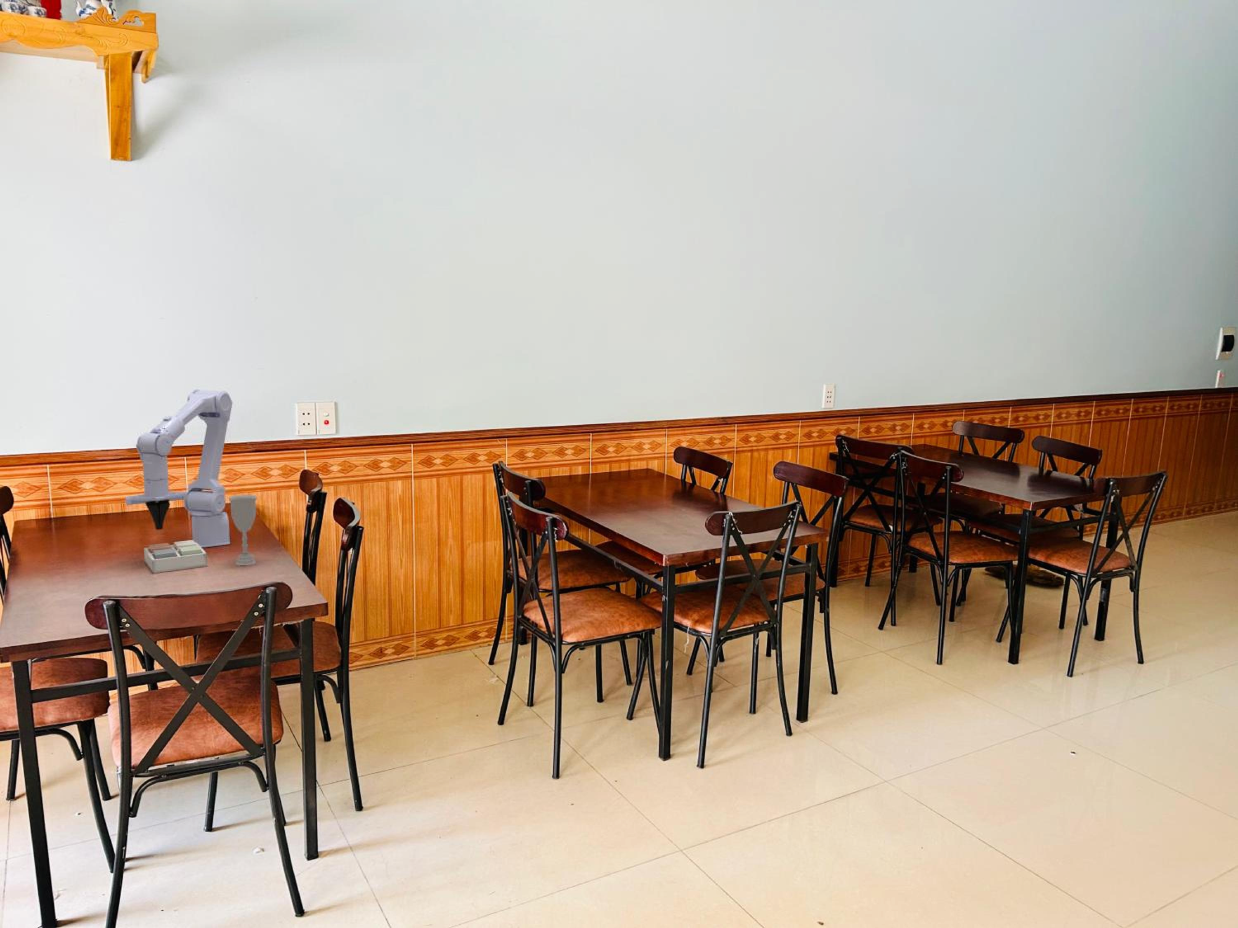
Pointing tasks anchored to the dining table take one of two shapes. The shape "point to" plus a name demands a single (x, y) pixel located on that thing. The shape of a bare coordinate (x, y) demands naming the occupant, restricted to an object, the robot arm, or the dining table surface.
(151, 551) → the key terracotta
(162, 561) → the keypad
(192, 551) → the key sage
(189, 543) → the key ivory
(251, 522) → the chalice
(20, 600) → the dining table surface
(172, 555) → the key slate
